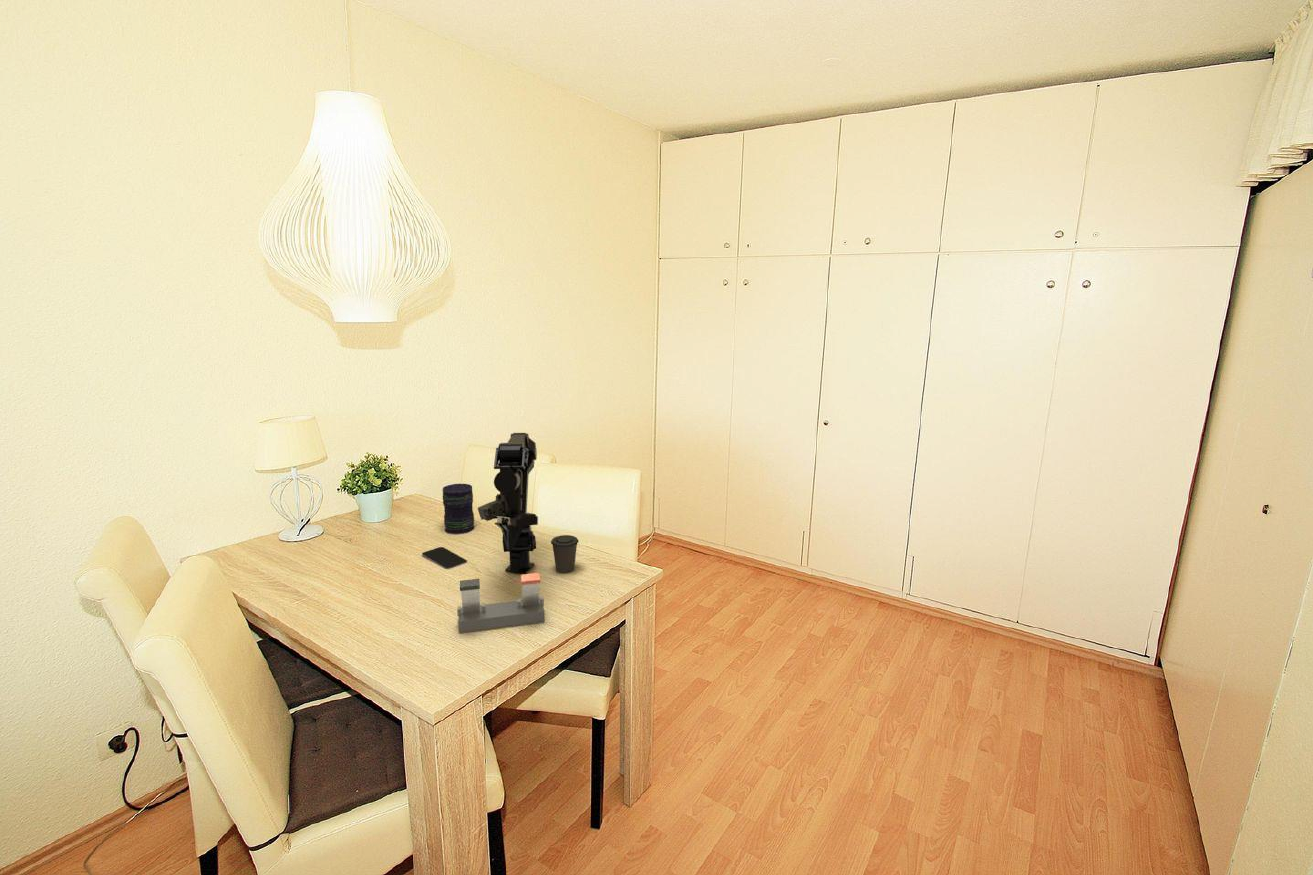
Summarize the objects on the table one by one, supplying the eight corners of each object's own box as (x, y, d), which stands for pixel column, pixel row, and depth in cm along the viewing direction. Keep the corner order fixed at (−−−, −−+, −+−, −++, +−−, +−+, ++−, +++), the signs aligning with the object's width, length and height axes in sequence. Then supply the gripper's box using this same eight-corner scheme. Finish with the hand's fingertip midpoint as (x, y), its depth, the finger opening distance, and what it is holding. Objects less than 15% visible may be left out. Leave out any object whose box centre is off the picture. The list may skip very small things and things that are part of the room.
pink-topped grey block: (521, 600, 145) (520, 574, 140) (539, 598, 146) (539, 572, 142) (521, 607, 143) (521, 581, 139) (539, 605, 144) (540, 579, 140)
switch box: (458, 618, 144) (457, 600, 143) (542, 608, 150) (542, 590, 149) (457, 633, 137) (456, 615, 136) (545, 621, 143) (544, 604, 142)
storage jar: (480, 526, 204) (478, 485, 201) (461, 536, 195) (459, 493, 192) (458, 522, 208) (455, 482, 205) (438, 531, 199) (435, 489, 196)
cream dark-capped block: (462, 607, 141) (459, 580, 137) (480, 605, 142) (479, 578, 138) (461, 614, 139) (459, 587, 135) (481, 612, 140) (479, 585, 136)
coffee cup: (545, 571, 171) (544, 539, 168) (562, 561, 178) (561, 530, 175) (568, 577, 167) (567, 545, 165) (584, 567, 174) (584, 535, 172)
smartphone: (446, 569, 170) (420, 553, 180) (446, 572, 171) (420, 556, 180) (468, 561, 176) (441, 546, 185) (468, 564, 176) (442, 549, 185)
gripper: (466, 489, 156) (465, 548, 155) (499, 494, 142) (498, 558, 142) (504, 488, 163) (503, 544, 163) (539, 492, 149) (538, 553, 149)
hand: (509, 549), depth 154 cm, fingers closed
